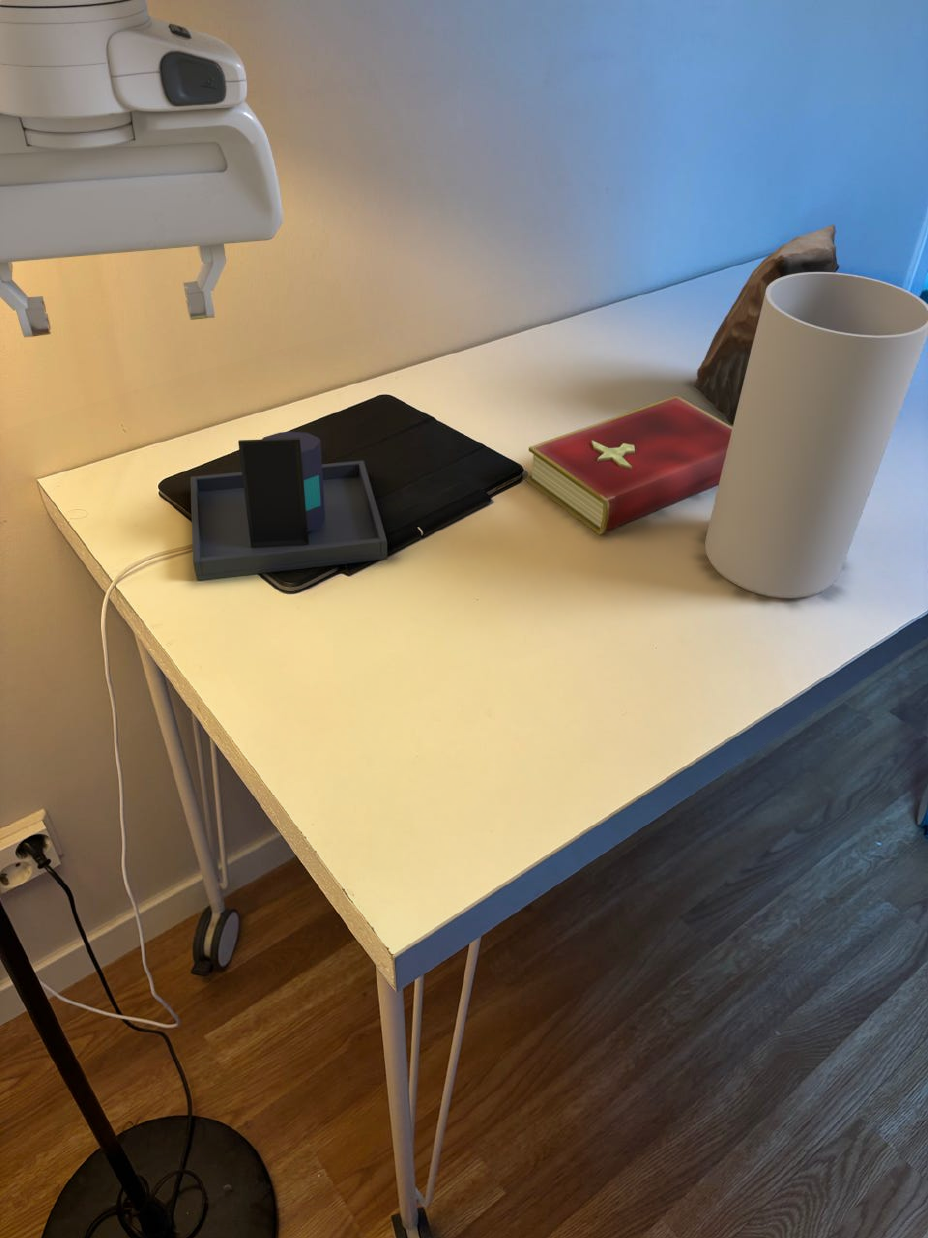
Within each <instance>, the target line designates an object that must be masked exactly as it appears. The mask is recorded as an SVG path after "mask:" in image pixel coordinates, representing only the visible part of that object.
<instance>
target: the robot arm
mask: <svg viewBox="0 0 928 1238" xmlns="http://www.w3.org/2000/svg"><path fill="white" fill-rule="evenodd" d="M247 94H248V81H247V73H246V68H245V65H244V63H243V61H242V59H241V57H240V56H239V54H238V53H237V51H236V50H235V49H234V48H232V47H231V46H230V44H228V43H227V42H225V41H224V40H222V39H221V38H219V37H216V36H214V35H211V34H208V33H205V32H202V31H199V30H195V29H192V28H188V27H186V26H182V25H179V24H175V23H172V22H169V21H166V20H162V19H160V18H156V17H153V16H150V15H149V10H148V4H147V0H0V299H1V300H3V302H4V303H5V304H6V305H7V306H8V307H10V308H11V310H13V311H16V316H17V318H18V322H19V325H20V330H21V333H22V335H23V337H24V338H34V337H41V336H48V335H51V334H52V332H51V329H52V328H51V321H50V317H49V314H48V313H47V307H46V302H45V299H44V296H43V295H40V296H39V295H37V296H28V295H27V294H26V293H25V291H24V290H23V289H22V288H21V287H20V286H19V285H18V284H17V283H16V281H14V280H13V272H14V271H13V268H14V267H13V266H14V265H13V263H17V262H28V261H40V260H52V259H63V258H75V257H76V258H77V257H86V256H99V255H111V254H123V253H133V252H147V251H158V250H169V249H180V248H181V249H182V248H192V247H196V248H197V251H198V254H199V256H200V260H201V262H202V265H201V267H200V270H199V273H198V275H197V278H196V281H188V282H187V281H186V282H182V283H183V284H182V285H183V291H184V296H185V298H186V300H185V303H186V308H187V312H188V315H189V320H191V321H194V320H204V319H214V318H215V315H216V314H215V308H214V301H213V294H212V292H213V291H214V290H215V288H216V285H217V284H218V281H219V280H220V277H221V275H222V272H223V270H224V268H225V266H226V264H227V257H226V249H225V245H227V244H239V243H249V242H250V243H251V242H264V241H271V240H272V239H274V237H276V235H277V234H278V232H279V231H280V229H281V227H282V225H283V223H284V210H283V201H282V194H281V190H280V189H281V188H280V183H279V178H278V172H277V169H276V164H275V160H274V155H273V151H272V148H271V144H270V141H269V139H268V136H267V132H266V131H265V129H264V127H263V125H262V124H261V122H260V120H259V118H258V116H256V114H255V112H254V111H253V110H252V108H251V106H250V105H249V104H248V103H247V102H246V99H247Z"/></svg>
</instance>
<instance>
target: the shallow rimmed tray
mask: <svg viewBox="0 0 928 1238" xmlns="http://www.w3.org/2000/svg"><path fill="white" fill-rule="evenodd" d="M322 475H323V491H324V506H325V521H324V522H323V524H322V525H321V526H320V528H317V529H315V530H312V531H309V532H308V539H309V545H291V546H272V547H252V548H251V543H250V535H249V527H248V518H247V510H246V502H245V494H244V485H243V477H242V471H237V472H227V473H226V472H225V473H216V474H206V475H193V476H190V505H191V506H190V507H191V534H192V564H193V569H194V574H195V579H196V581H197V582H198V581H206V580H207V581H209V580H216V579H226V578H234V577H235V578H236V577H244V576H250V575H251V576H252V575H257V574H258V575H261V574H269V573H278V572H286V571H294V570H302V569H303V570H304V569H312V568H321V567H329V566H330V567H331V566H338V565H348V564H355V563H357V564H358V563H364V562H365V563H366V562H374V561H382V560H388V541H387V540H388V539H387V537H386V533H385V530H384V526H383V523H382V519H381V515H380V512H379V509H378V505H377V501H376V499H375V495H374V492H373V488H372V485H371V480H370V478H369V474H368V471H367V467H366V464H365V461H364V460H353V461H342V462H332V463H331V462H330V463H323V464H322Z"/></svg>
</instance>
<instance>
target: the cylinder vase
mask: <svg viewBox="0 0 928 1238" xmlns="http://www.w3.org/2000/svg"><path fill="white" fill-rule="evenodd" d="M927 338H928V303H927V302H926V301H925V300H924V299H922V298H921V297H919V296H918V295H916V294H915V293H912V292H910V291H909V290H906V289H904V288H902V287H899V286H897V285H895V284H893V283H889V282H886V281H882V280H880V279H876V278H871V277H867V276H862V275H856V274H849V273H842V272H835V273H832V272H807V273H798V274H792V275H787V276H784V277H781V278H779V279H776V280H775V281H773V282H772V283H770V284H769V285H768V287H767V289H766V292H765V296H764V301H763V305H762V309H761V313H760V317H759V321H758V325H757V329H756V334H755V338H754V342H753V346H752V350H751V354H750V358H749V362H748V366H747V371H746V375H745V379H744V383H743V387H742V391H741V395H740V399H739V404H738V408H737V412H736V416H735V420H734V424H732V427H733V428H732V432H731V436H730V441H729V445H728V449H727V453H726V457H725V461H724V465H723V469H722V474H721V478H720V482H719V485H717V491H716V495H715V498H714V503H713V507H712V511H711V515H710V518H709V523H708V527H707V531H706V537H705V539H704V548H705V549H704V550H705V553H706V556H707V559H708V560H709V562H710V564H711V565H712V567H713V568H714V569H715V571H717V572H718V573H719V574H720V575H721V576H722V577H723V578H724V579H726V580H728V581H729V582H731V583H732V584H733V585H735V586H737V587H739V588H742V589H743V590H746V591H748V592H751V593H755V594H758V595H760V596H766V597H771V598H778V599H800V598H801V599H802V598H806V597H810V596H814V595H817V594H820V593H823V592H824V591H826V590H827V589H828V588H830V587H831V586H833V584H835V583H836V582H837V580H838V578H839V577H840V575H841V573H842V569H843V567H844V564H845V561H846V559H847V556H848V553H849V550H850V547H851V545H852V542H853V541H854V540H853V539H854V537H855V533H856V532H857V529H858V526H859V523H860V520H861V518H862V516H863V513H864V509H865V508H866V503H867V502H868V499H869V496H870V494H871V491H872V488H873V485H874V482H875V480H876V477H877V474H878V472H879V469H880V466H881V464H882V461H883V458H884V455H885V454H886V450H887V447H888V445H889V442H890V440H891V436H892V434H893V431H894V428H895V425H896V423H897V420H898V417H899V414H900V412H901V409H902V407H903V403H904V401H905V398H906V395H907V393H908V390H909V388H910V384H911V382H912V379H913V376H914V374H915V371H916V368H917V365H918V363H919V360H920V357H921V355H922V352H923V350H924V347H925V344H926V341H927Z"/></svg>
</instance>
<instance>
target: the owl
mask: <svg viewBox="0 0 928 1238" xmlns="http://www.w3.org/2000/svg"><path fill="white" fill-rule="evenodd" d="M836 233H837V230H836V225H835V224H830V225H827V226H825V227H823V228H820V229H818V230H815V231H813V232H809V233H806V234H803V235H800V236H796V237H793V239H791V240H790V241H788V242H787V243H784V244H783V245H781V246H780V247H778V248H777V249H776V250H775V251H774V252H772V253H770V254H769V255H768V256H766V257H765V258H764V259H763V260H762V261H761V262H760V263H759V265H757V266H756V268H754V269H753V271H752V272H751V274H750V276H749V278H748V279H747V281H746V282H745V283H744V285H743V287H742V288H741V290H740V292H739V294H738V295H737V297H736V299H735V301H734V302H733V304H732V305H731V307H730V309H729V311H728V313H727V315H725V317H724V319H723V321H722V322H721V325H720V326H719V327H718V330H717V331H716V332H715V334H714V336H713V339H712V340H711V343H710V345H709V347H708V350H707V352H706V354H705V356H704V359H703V360H702V362H701V364H700V366H699V367H698V368H697V371H696V376H697V377H696V381H695V382H694V384H693V386H694V387H695V388H696V389H698V391H700V392H701V393H702V395H704V396H705V398H706V399H707V400H708V401H709V402H711V403H712V404H713V405H714V406H715V409H716V410H717V411H719V412H720V413H722V414H723V415H725V416H726V419H727V421H728V422H729V423H731V424H732V425H733V424H734V420H735V416H736V412H737V408H738V404H739V399H740V395H741V391H742V387H743V383H744V379H745V375H746V371H747V366H748V362H749V358H750V354H751V350H752V346H753V342H754V338H755V334H756V329H757V325H758V321H759V317H760V313H761V309H762V305H763V301H764V296H765V292H766V289H767V287H768V285H769V284H770V283H772V282H773V281H775V280H776V279H779V278H781V277H784V276H787V275H792V274H798V273H807V272H832V273H837V271H838V270H839V269H840V264H838V258H837V246H836V245H835V235H836Z"/></svg>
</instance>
